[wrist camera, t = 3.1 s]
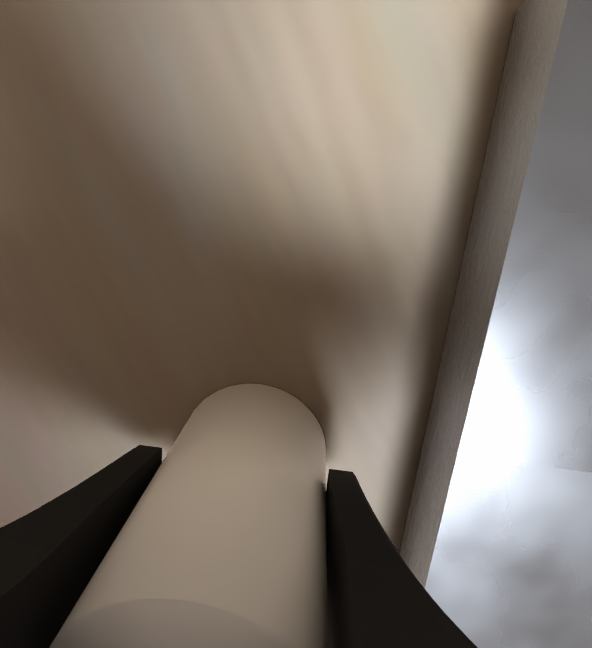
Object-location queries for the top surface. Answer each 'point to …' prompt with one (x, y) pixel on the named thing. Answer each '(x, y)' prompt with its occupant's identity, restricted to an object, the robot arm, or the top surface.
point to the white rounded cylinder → (220, 537)
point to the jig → (519, 364)
